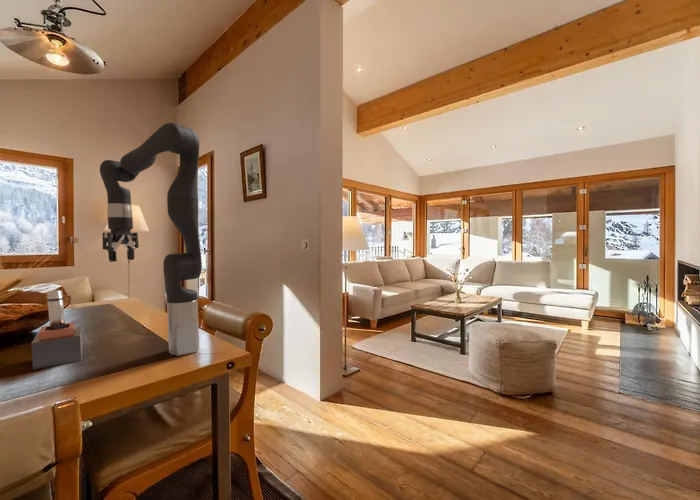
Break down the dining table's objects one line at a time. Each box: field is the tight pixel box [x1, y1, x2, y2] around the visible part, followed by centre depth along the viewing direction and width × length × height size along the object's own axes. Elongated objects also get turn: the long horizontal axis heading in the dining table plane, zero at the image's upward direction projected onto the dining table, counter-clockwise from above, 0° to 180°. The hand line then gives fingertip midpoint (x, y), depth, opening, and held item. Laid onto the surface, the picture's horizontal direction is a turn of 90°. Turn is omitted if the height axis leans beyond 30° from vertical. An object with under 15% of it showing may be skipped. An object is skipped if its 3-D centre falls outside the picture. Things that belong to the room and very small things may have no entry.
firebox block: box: [30, 321, 84, 371], centre depth 103 cm, size 11×11×10 cm
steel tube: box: [46, 289, 66, 330], centre depth 103 cm, size 4×4×14 cm
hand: (122, 260), depth 120 cm, fingers open, 8 cm apart
